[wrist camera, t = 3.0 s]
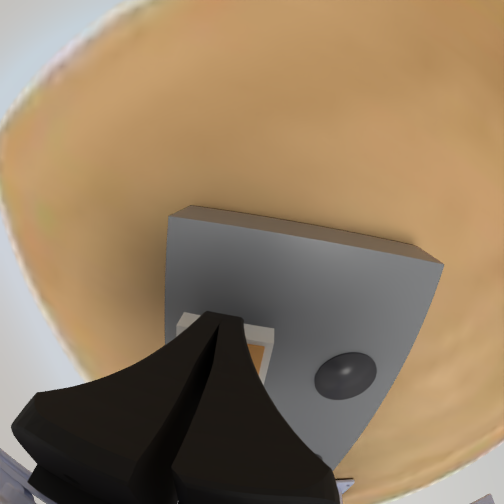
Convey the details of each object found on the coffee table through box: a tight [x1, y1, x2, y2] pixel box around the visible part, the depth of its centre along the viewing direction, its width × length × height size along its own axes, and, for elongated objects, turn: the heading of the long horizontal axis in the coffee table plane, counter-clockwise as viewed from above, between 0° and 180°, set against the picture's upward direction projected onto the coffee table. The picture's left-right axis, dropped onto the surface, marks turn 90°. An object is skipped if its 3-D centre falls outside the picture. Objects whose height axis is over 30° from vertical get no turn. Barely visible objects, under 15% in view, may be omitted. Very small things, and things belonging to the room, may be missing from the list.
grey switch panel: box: [165, 205, 444, 471], centre depth 15 cm, size 22×12×3 cm, turn 172°
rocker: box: [176, 312, 274, 385], centre depth 11 cm, size 6×4×1 cm, turn 172°
